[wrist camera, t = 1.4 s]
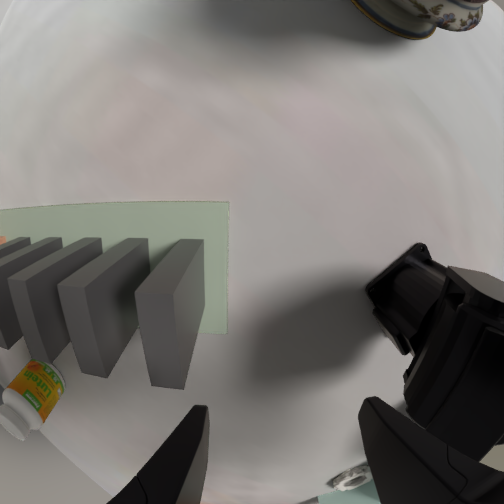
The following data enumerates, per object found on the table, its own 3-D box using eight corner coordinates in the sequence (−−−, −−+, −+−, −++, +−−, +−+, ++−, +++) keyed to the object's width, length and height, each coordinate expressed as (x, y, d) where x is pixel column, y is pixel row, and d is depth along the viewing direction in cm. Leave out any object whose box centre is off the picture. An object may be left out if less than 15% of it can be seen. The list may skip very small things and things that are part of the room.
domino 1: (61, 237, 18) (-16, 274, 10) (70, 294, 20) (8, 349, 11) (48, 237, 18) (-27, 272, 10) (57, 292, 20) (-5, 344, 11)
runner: (229, 201, 19) (228, 202, 18) (227, 330, 21) (227, 334, 21) (-31, 213, 17) (-34, 214, 17) (-16, 297, 20) (-19, 298, 20)
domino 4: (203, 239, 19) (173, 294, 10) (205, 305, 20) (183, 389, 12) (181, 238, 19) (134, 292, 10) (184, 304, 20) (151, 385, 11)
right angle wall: (385, 446, 29) (401, 483, 22) (381, 474, 32) (393, 504, 25) (308, 472, 30) (316, 512, 23) (317, 495, 33) (324, 527, 26)
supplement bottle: (69, 375, 23) (29, 435, 14) (64, 398, 24) (31, 451, 15) (33, 347, 22) (-13, 398, 13) (30, 372, 23) (-7, 420, 14)
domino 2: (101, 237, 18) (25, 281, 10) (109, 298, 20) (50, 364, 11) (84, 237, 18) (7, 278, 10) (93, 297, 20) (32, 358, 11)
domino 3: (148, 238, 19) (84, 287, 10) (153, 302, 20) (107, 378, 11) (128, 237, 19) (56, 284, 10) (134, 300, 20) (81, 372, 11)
